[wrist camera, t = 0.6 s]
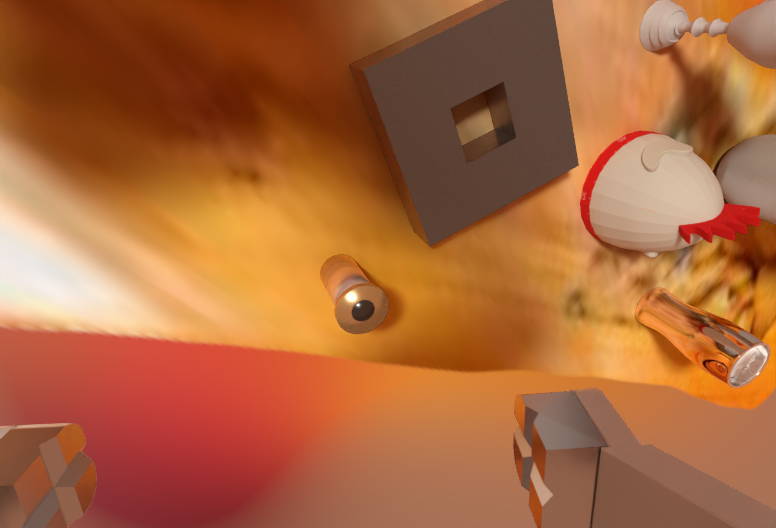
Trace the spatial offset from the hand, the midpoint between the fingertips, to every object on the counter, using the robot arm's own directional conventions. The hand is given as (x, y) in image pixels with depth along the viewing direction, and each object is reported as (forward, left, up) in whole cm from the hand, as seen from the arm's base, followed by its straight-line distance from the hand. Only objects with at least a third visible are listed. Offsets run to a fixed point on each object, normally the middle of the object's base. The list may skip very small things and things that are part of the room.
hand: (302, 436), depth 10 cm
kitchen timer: (+29, +40, -39) cm, 63 cm away
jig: (+11, +22, -38) cm, 45 cm away
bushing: (+20, +4, -38) cm, 43 cm away
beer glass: (+50, +42, -39) cm, 76 cm away
